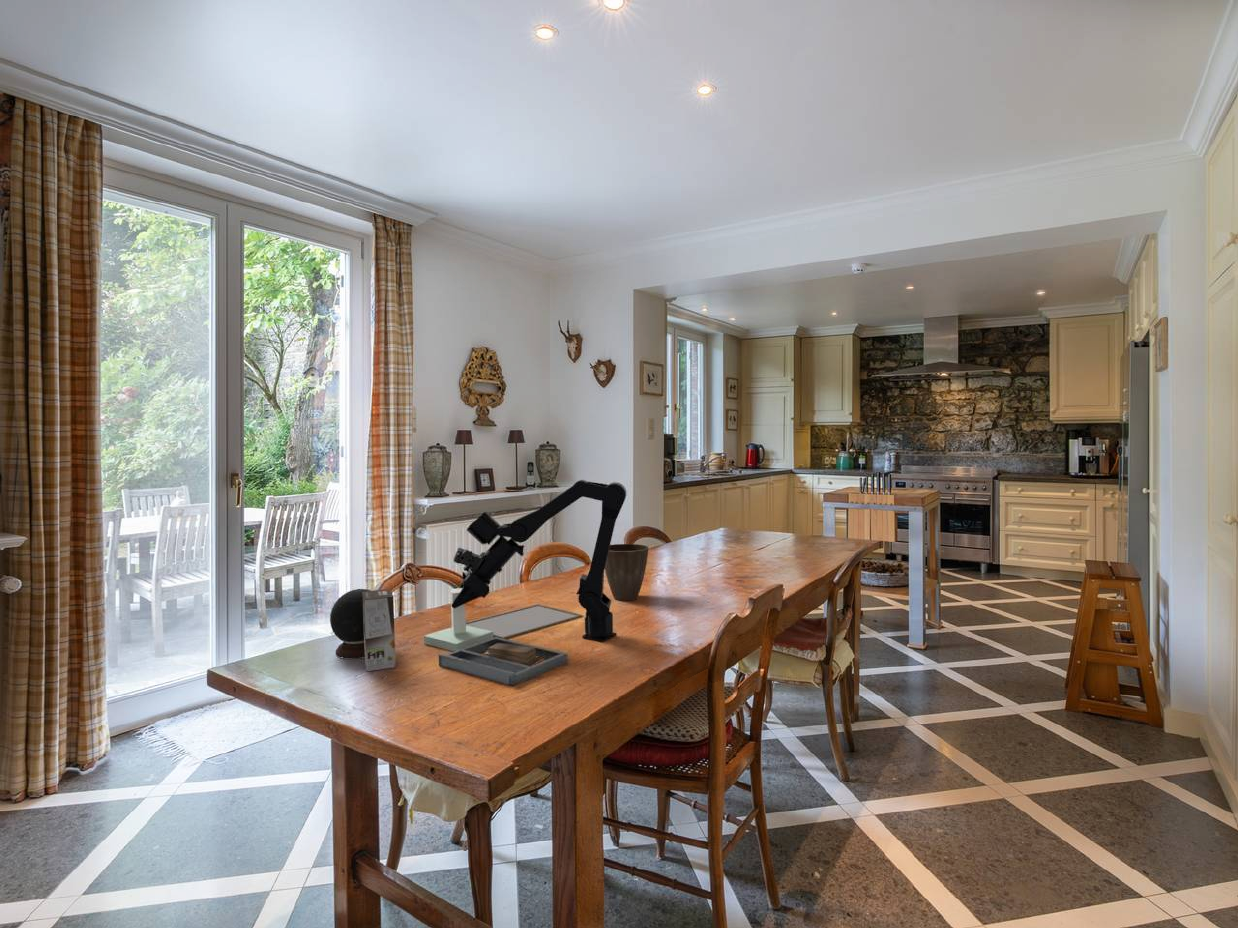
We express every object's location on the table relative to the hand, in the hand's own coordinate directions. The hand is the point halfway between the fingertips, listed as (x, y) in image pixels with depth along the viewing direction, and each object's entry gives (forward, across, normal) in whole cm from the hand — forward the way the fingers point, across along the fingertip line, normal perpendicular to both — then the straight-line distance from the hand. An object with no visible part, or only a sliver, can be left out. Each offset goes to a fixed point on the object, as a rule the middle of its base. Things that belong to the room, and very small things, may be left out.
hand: (452, 604), depth 168 cm
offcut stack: (-2, +19, +16) cm, 25 cm away
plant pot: (-30, -31, +44) cm, 62 cm away
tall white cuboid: (+4, 0, +6) cm, 7 cm away
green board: (+6, 0, +8) cm, 10 cm away
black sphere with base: (+22, 0, -9) cm, 24 cm away
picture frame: (-6, -14, +20) cm, 25 cm away
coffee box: (+18, +12, -5) cm, 22 cm away
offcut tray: (-1, +20, +14) cm, 25 cm away
